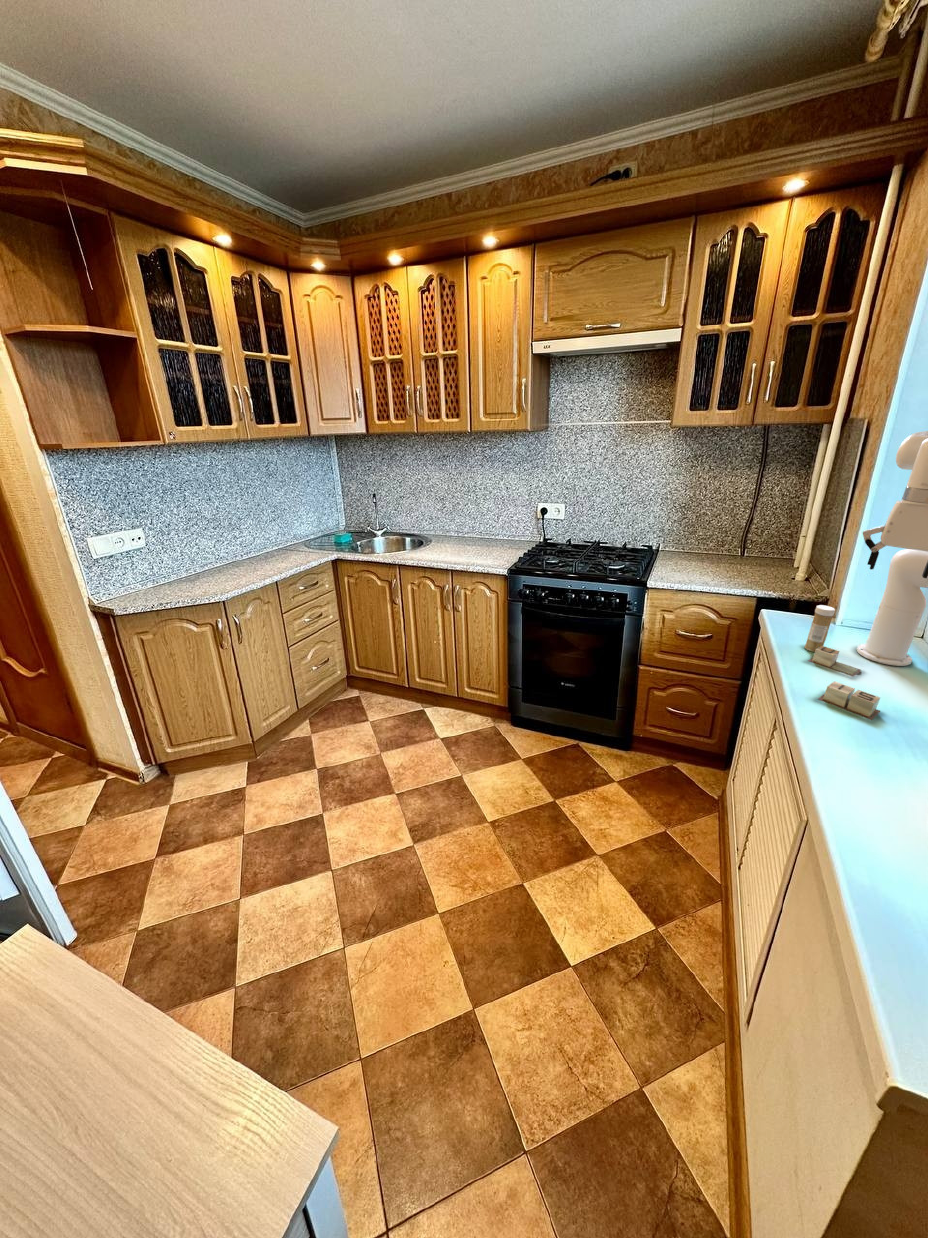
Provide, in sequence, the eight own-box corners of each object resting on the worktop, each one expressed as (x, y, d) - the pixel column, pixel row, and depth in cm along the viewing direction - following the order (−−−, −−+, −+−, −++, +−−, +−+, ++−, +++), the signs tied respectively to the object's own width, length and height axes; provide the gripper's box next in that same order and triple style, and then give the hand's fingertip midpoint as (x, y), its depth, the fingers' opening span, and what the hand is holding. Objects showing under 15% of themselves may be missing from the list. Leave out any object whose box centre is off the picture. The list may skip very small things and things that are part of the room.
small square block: (853, 702, 122) (858, 689, 120) (875, 710, 118) (880, 697, 117) (846, 708, 119) (851, 694, 118) (868, 717, 116) (874, 703, 115)
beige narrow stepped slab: (815, 656, 146) (820, 643, 144) (860, 671, 138) (865, 657, 136) (806, 662, 142) (811, 648, 141) (852, 678, 134) (857, 664, 133)
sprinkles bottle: (824, 650, 150) (838, 608, 145) (817, 654, 148) (831, 611, 142) (808, 645, 153) (821, 603, 148) (800, 648, 151) (813, 606, 146)
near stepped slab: (826, 693, 127) (832, 678, 125) (880, 713, 119) (886, 697, 117) (816, 701, 123) (822, 685, 121) (870, 722, 115) (877, 705, 113)
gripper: (976, 500, 109) (945, 577, 115) (876, 491, 119) (852, 562, 125) (981, 504, 103) (948, 584, 109) (875, 493, 113) (850, 568, 119)
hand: (897, 572), depth 117 cm, fingers open, 9 cm apart
